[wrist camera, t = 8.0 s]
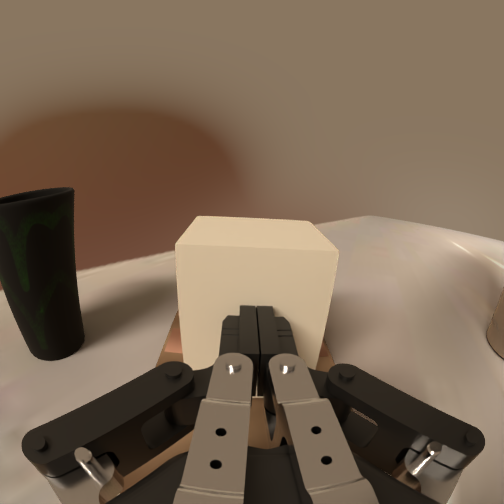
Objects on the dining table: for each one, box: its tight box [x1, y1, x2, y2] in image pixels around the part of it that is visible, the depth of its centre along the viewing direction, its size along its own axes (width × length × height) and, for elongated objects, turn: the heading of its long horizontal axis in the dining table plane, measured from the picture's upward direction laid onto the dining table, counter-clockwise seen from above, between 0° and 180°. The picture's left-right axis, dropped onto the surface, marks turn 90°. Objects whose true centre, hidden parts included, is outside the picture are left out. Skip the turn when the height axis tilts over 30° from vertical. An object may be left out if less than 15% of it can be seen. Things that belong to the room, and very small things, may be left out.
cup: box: [0, 187, 85, 361], centre depth 16 cm, size 8×8×12 cm
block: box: [175, 216, 339, 398], centre depth 16 cm, size 6×7×9 cm
